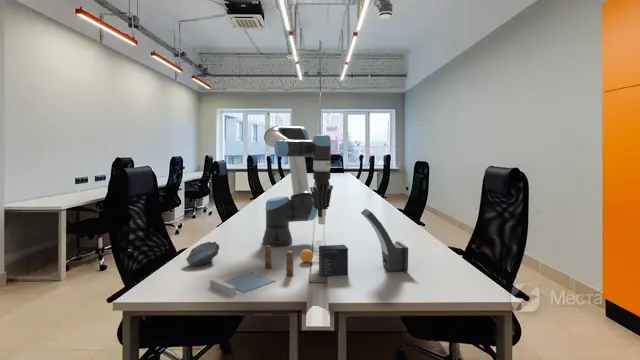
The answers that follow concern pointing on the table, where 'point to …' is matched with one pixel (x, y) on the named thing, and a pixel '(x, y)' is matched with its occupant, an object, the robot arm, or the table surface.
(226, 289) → the wall
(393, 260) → the grey curved piece
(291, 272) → the post
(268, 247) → the post
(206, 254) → the rock
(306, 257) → the ball
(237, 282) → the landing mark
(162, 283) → the table surface
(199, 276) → the table surface
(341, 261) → the box
